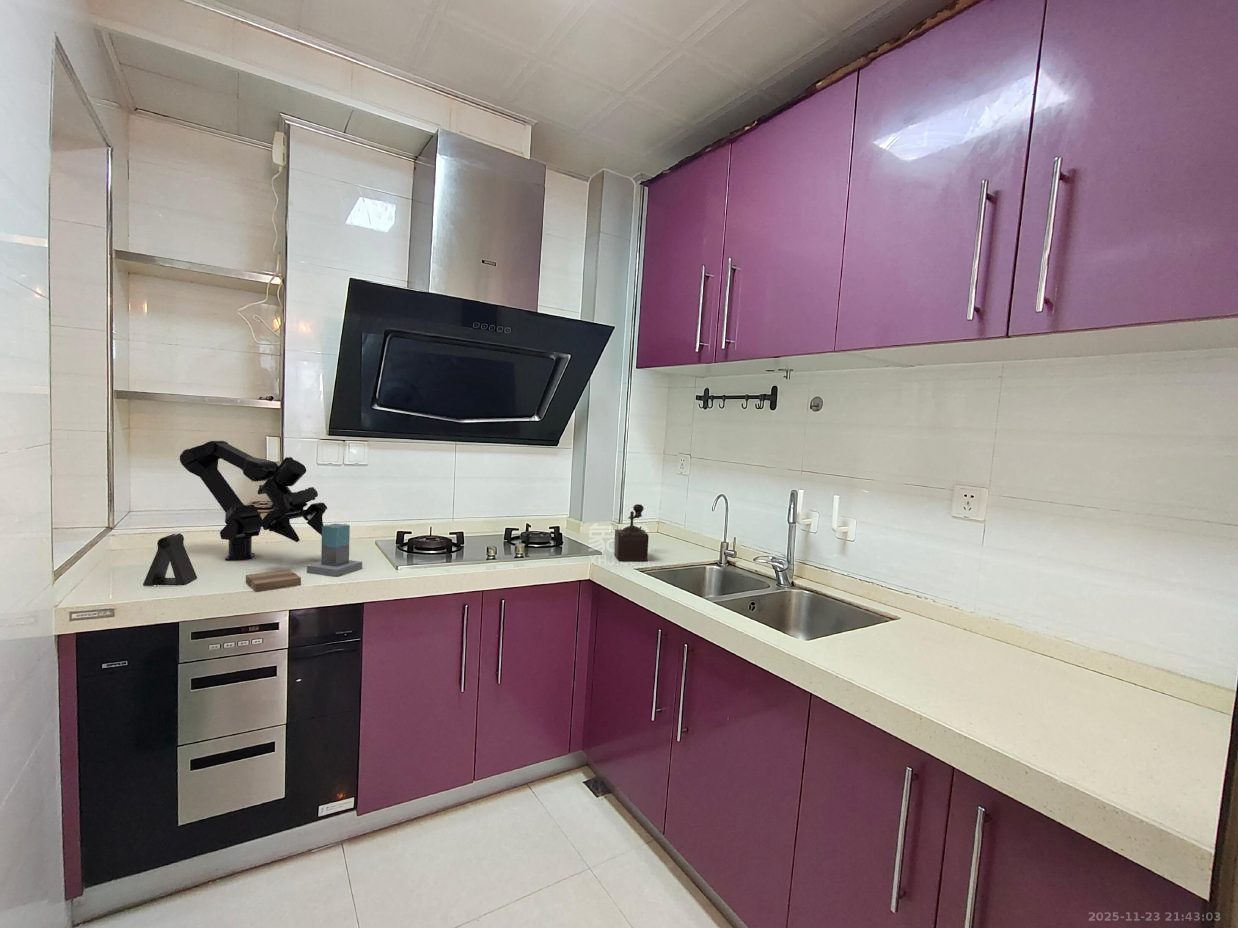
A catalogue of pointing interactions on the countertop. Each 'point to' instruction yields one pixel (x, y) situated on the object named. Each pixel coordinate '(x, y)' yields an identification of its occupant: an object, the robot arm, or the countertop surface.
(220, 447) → the robot arm
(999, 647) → the countertop surface
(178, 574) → the phone stand
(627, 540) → the manual coffee grinder
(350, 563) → the stand
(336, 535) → the block
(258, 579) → the stand
